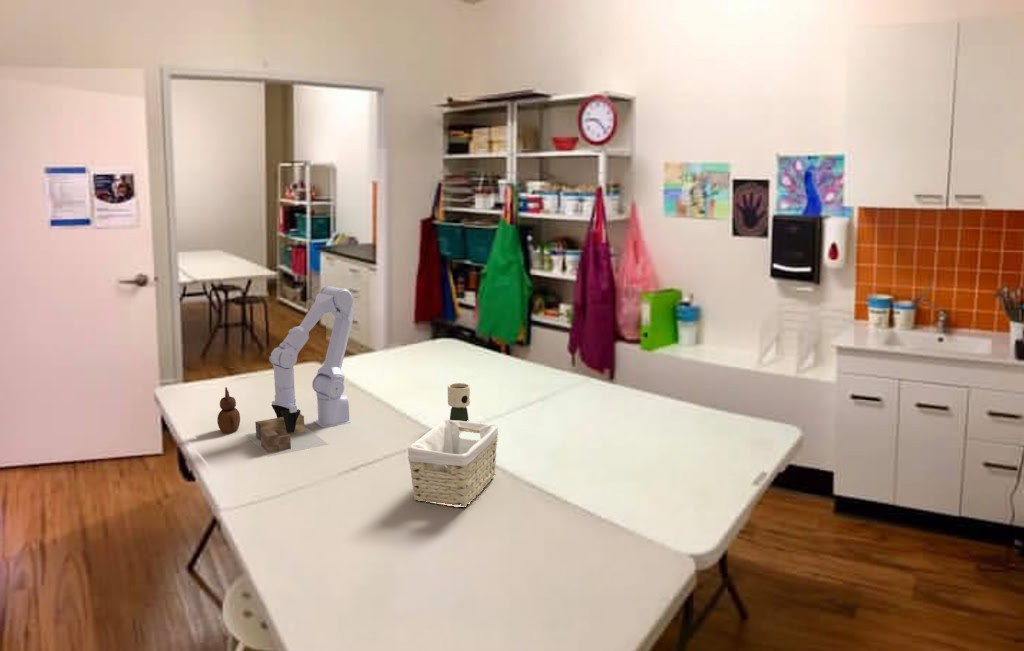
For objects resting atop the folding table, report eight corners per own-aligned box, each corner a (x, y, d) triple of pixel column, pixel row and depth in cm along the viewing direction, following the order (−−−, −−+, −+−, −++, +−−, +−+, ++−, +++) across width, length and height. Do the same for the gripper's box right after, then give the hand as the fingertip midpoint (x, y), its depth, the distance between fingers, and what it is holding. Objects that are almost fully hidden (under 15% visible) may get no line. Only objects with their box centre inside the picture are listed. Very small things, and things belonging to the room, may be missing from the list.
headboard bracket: (283, 441, 236) (282, 425, 235) (291, 448, 231) (290, 432, 230) (261, 445, 233) (260, 429, 232) (268, 453, 227) (267, 436, 226)
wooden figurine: (232, 436, 242) (229, 389, 239) (215, 435, 243) (211, 388, 240) (244, 429, 248) (241, 383, 245) (227, 428, 249) (224, 382, 246)
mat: (302, 425, 252) (302, 424, 252) (328, 445, 235) (328, 444, 235) (245, 435, 242) (245, 434, 242) (268, 457, 225) (268, 456, 225)
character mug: (461, 431, 248) (461, 391, 245) (441, 428, 250) (440, 388, 248) (476, 421, 258) (476, 382, 255) (456, 418, 260) (456, 380, 258)
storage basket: (466, 513, 190) (466, 455, 187) (405, 503, 196) (404, 446, 193) (500, 476, 213) (500, 424, 210) (445, 468, 218) (444, 417, 215)
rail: (301, 429, 248) (300, 413, 247) (304, 431, 245) (303, 416, 244) (256, 437, 240) (255, 421, 239) (259, 440, 237) (258, 424, 236)
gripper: (264, 382, 244) (266, 424, 247) (279, 394, 233) (281, 438, 235) (286, 379, 248) (288, 420, 251) (302, 390, 236) (304, 433, 239)
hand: (286, 429), depth 243 cm, fingers open, 6 cm apart
